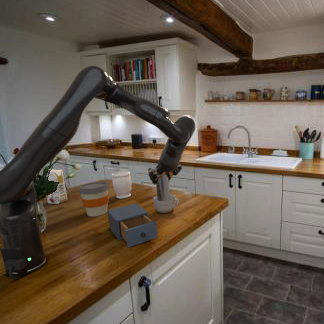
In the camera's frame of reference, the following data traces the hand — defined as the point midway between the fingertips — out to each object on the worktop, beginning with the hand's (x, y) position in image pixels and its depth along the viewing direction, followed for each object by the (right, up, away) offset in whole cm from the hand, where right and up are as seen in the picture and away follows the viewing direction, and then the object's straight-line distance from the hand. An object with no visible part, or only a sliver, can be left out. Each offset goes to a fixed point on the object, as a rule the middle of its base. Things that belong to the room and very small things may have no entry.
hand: (160, 181), depth 107 cm
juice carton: (-73, -15, +36) cm, 83 cm away
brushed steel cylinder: (+1, -8, 0) cm, 8 cm away
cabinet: (-15, -22, +2) cm, 26 cm away
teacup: (-4, -18, +22) cm, 28 cm away
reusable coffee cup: (-40, -18, +20) cm, 49 cm away
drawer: (-7, -22, -6) cm, 24 cm away
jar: (-39, -13, +45) cm, 61 cm away
